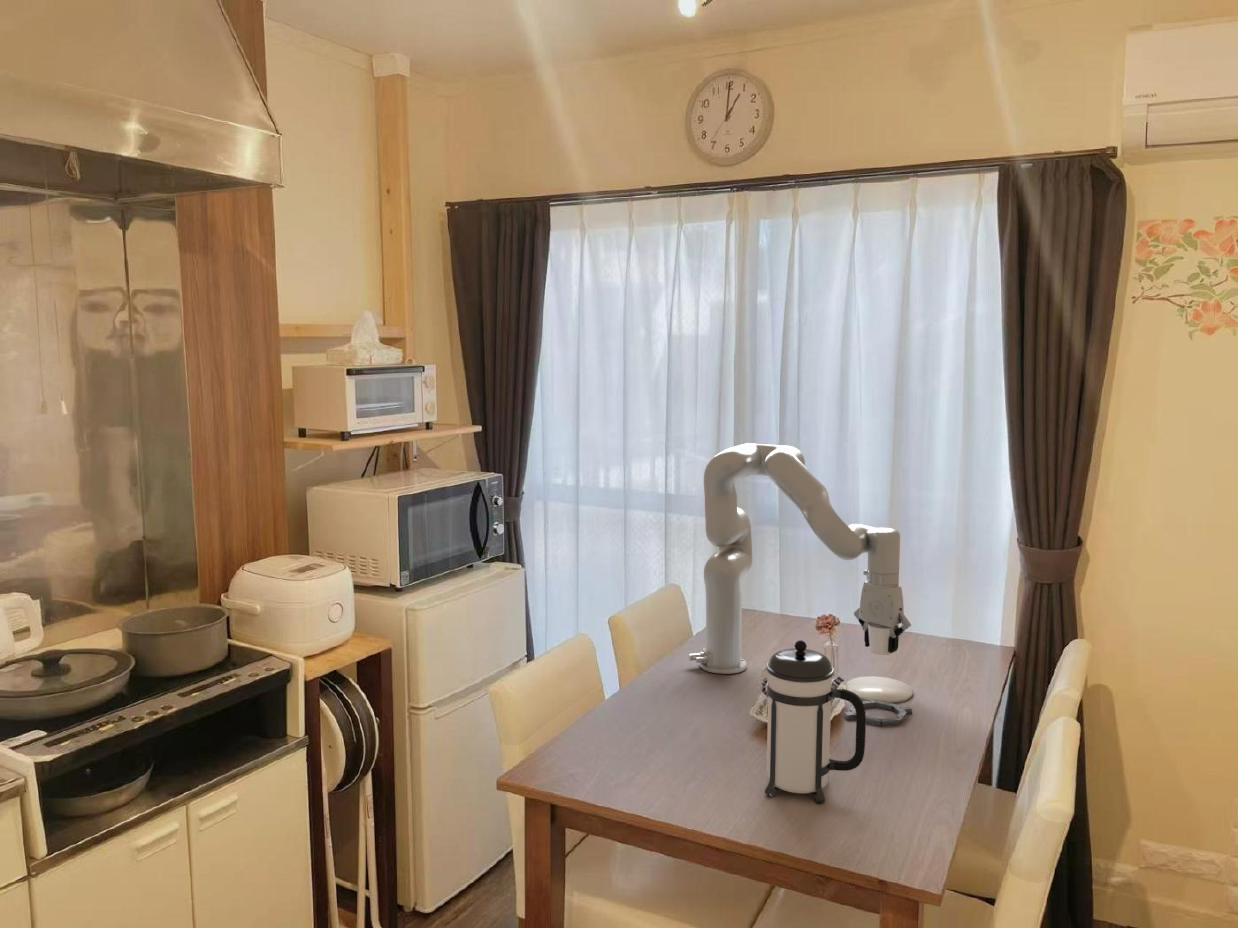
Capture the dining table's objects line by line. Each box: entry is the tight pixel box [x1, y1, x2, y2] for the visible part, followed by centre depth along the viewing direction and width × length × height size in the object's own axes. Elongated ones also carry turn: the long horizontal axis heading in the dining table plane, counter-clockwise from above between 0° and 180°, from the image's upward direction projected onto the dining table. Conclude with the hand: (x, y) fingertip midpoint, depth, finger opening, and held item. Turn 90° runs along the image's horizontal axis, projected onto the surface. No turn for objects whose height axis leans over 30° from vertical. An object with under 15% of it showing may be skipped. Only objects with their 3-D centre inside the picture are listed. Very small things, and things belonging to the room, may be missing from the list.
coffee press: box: [759, 640, 867, 805], centre depth 182 cm, size 17×16×30 cm
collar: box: [843, 700, 913, 727], centre depth 219 cm, size 17×12×1 cm
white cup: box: [868, 623, 896, 656], centre depth 232 cm, size 7×7×7 cm
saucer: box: [846, 675, 913, 704], centre depth 234 cm, size 16×16×1 cm
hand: (881, 647), depth 233 cm, fingers closed on white cup, 5 cm apart
